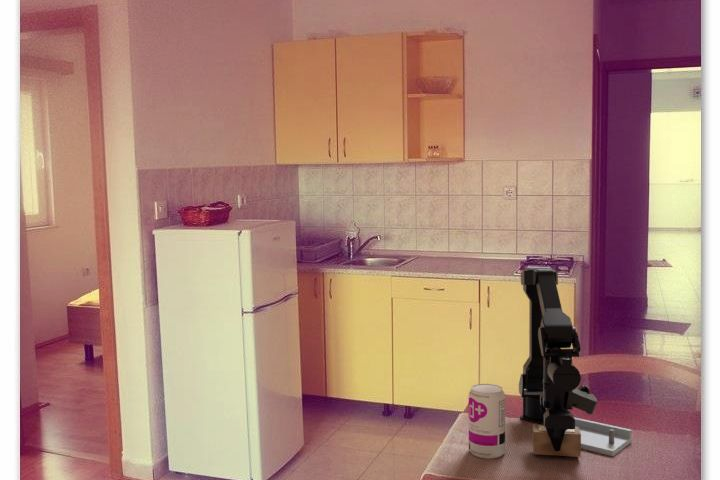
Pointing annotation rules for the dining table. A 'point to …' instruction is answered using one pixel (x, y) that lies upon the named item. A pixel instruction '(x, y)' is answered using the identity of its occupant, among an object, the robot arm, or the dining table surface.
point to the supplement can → (487, 421)
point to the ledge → (602, 437)
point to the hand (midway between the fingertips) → (556, 446)
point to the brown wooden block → (545, 447)
